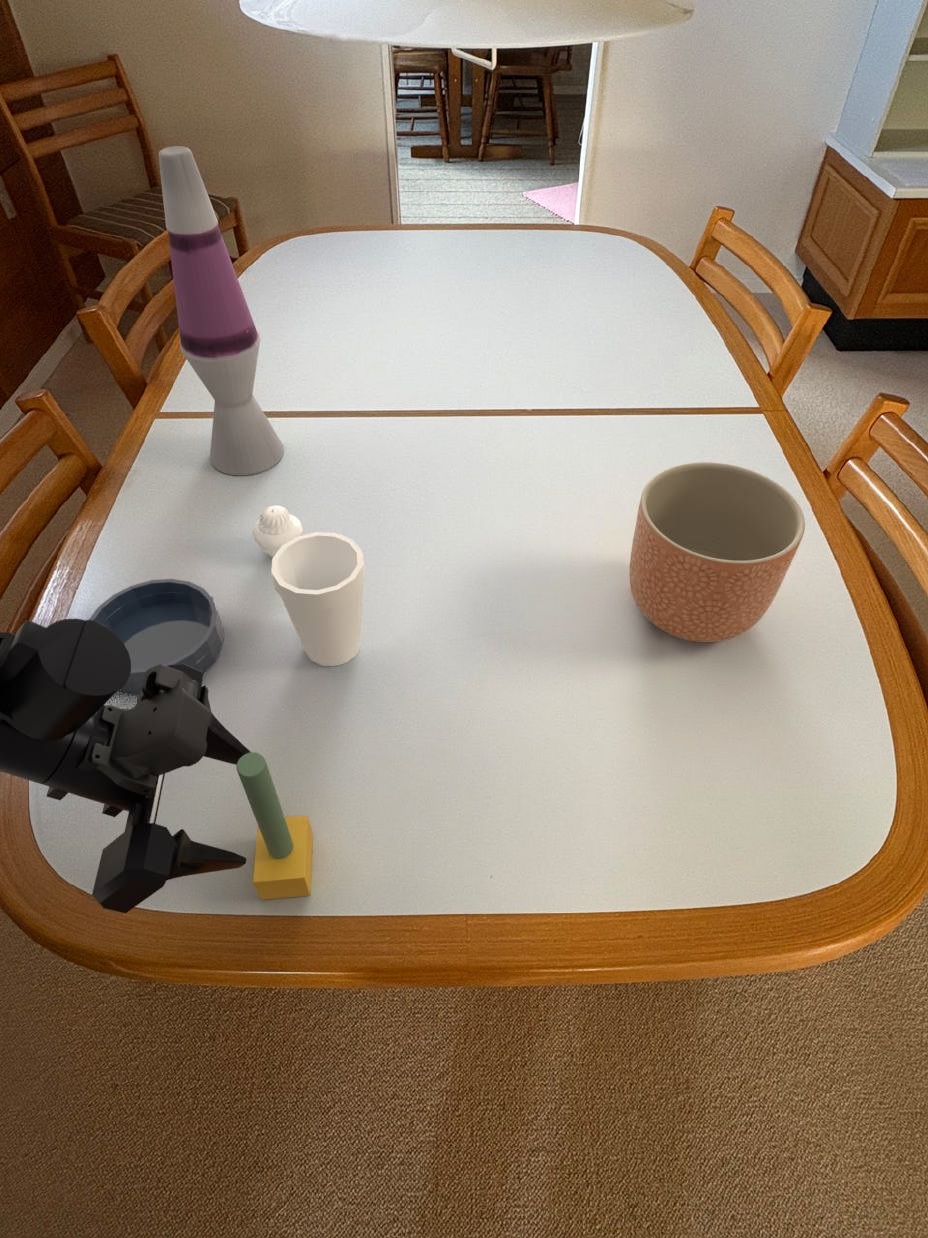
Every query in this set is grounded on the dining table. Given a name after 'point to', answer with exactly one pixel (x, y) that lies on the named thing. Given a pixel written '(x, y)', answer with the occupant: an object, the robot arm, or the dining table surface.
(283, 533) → the white citrus juicer
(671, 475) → the planter
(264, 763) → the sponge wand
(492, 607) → the dining table surface
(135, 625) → the bowl
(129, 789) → the robot arm
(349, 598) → the foam cup
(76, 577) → the dining table surface
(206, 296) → the lamp
